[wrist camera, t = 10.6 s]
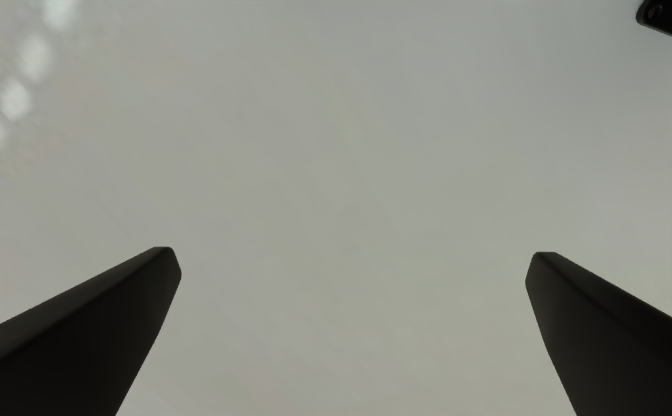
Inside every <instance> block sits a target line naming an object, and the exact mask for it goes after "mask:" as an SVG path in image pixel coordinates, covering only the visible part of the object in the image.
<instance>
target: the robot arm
mask: <svg viewBox="0 0 672 416" xmlns="http://www.w3.org/2000/svg"><path fill="white" fill-rule="evenodd" d="M652 8H654V13H653V15H652V16H651V17H650V18H649V17H648V13H649V11H650V10H651V9H652ZM636 20H637V22H638V23H639V24H640V25H643V26H646V27H648V28H651V29H653V30H656V31H659V32H661V33H664V34H666V35H669V36H672V0H645V1H644V2H643V4H642V5H641V6H640V8H639V10H638V12H637V14H636ZM180 280H181V269H180V266H179V264H178V261H177V258H176V256H175V253H174V251H173V249H172V248H170V247H153V248H151V249H149V250H147V251H145V252H143V253H141V254H139V255H137V256H135V257H133V258H131V259H129V260H127V261H125V262H123V263H121V264H119V265H117V266H115V267H113V268H111V269H109V270H107V271H105V272H103V273H101V274H99V275H97V276H95V277H93V278H91V279H89V280H87V281H85V282H83V283H81V284H79V285H77V286H75V287H73V288H71V289H69V290H67V291H65V292H63V293H61V294H59V295H57V296H55V297H53V298H51V299H49V300H47V301H45V302H43V303H41V304H39V305H37V306H35V307H33V308H31V309H29V310H27V311H25V312H23V313H21V314H19V315H17V316H15V317H13V318H11V319H9V320H7V321H5V322H3V323H1V324H0V416H115V415H116V414H117V412H118V410H119V408H120V406H121V404H122V402H123V400H124V398H125V397H126V395H127V393H128V391H129V389H130V387H131V385H132V383H133V381H134V379H135V378H136V376H137V374H138V372H139V370H140V368H141V366H142V364H143V362H144V361H145V359H146V357H147V355H148V353H149V351H150V349H151V347H152V345H153V344H154V342H155V340H156V338H157V336H158V334H159V331H160V329H161V327H162V325H163V322H164V320H165V317H166V315H167V313H168V310H169V308H170V305H171V303H172V300H173V298H174V295H175V293H176V290H177V288H178V285H179V283H180ZM525 284H526V289H527V292H528V295H529V298H530V302H531V305H532V308H533V311H534V314H535V317H536V320H537V323H538V326H539V329H540V332H541V335H542V338H543V341H544V343H545V346H546V349H547V351H548V354H549V356H550V358H551V360H552V363H553V365H554V367H555V369H556V371H557V374H558V376H559V378H560V380H561V382H562V384H563V387H564V389H565V391H566V393H567V395H568V398H569V400H570V402H571V404H572V406H573V409H574V411H575V413H576V415H577V416H672V317H671V316H669V315H667V314H666V313H664V312H662V311H660V310H658V309H657V308H655V307H653V306H651V305H649V304H648V303H646V302H644V301H642V300H640V299H639V298H637V297H635V296H633V295H631V294H630V293H628V292H626V291H624V290H622V289H621V288H619V287H617V286H615V285H613V284H612V283H610V282H608V281H606V280H604V279H603V278H601V277H599V276H597V275H595V274H594V273H592V272H590V271H588V270H587V269H585V268H583V267H581V266H579V265H578V264H576V263H574V262H572V261H570V260H569V259H567V258H565V257H563V256H561V255H560V254H558V253H555V252H536V253H535V254H534V255H533V257H532V260H531V263H530V266H529V269H528V273H527V276H526V280H525Z"/></svg>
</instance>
